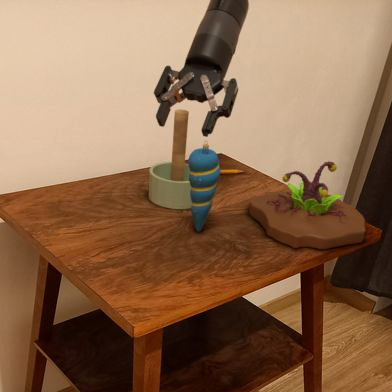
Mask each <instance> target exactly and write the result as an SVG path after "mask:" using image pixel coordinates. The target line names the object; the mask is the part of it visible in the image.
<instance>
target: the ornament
mask: <svg viewBox="0 0 392 392" xmlns="http://www.w3.org/2000/svg"><path fill="white" fill-rule="evenodd" d="M204 142H206V143H204V144H203V143H202V147H201V148H200V147H199V148H196V149H194V150H192V152H191V153H190V154H189V156H188V160H187V164H189V168H190V173H189V182H190V185H191V190H190V197H191V201H192V205H191V208H190V212H191V217H192V220H193V223H194V227H195V231H196V232H198V233H199V232H201V231H202V230H203V228H204V225H205V223H206V221H207V219H208V217H209V213H210V211H211V209H212V206H213V198H214V196H215V195H216V192H217V189H218V181H219V178H220V176H221V174H220V170H221V164H220V160H219V156H218V154H217V152H216V151H215V150H212V149H210V145H209V143H208V141H207V139H206V140H204Z"/></svg>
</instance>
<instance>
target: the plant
mask: <svg viewBox="0 0 392 392" xmlns="http://www.w3.org/2000/svg"><path fill="white" fill-rule="evenodd" d="M325 167H327V169H328V171H329V172H330V173H334V172H335V171H336V170H337V169H338V166H337V164H336V163H335V162H334V161H329V160H328V161H325V162H324V163H323V164H322V165H319V168H318V169H317V171H316V172H315V174H314V177H313V180H312V181H310V180H309V178H308V177H307V175H306V174H305V173H303V172H301V171H299V170H295V171H290V172H287V173H285V174H284V175H282V181H283V183H287V182H288V183H287V187H288V189H289V190H290V192H289V191H283V190H279V191H266V192H265V193H264V194H263V195H253V196H252V198H250V201H249V206H248V214H249V216H251V217H250V218H252V219H254V220H255V221H256V222H258V224H260V225H261V226H262V228H263V229H264V230H265V232H266V235H267V236H268V237H270V238H272V239H274V240H275V241H276V242H279V243H281V244H284V245H287V246H288V247H290V248H291V247H292V248H293V249H298V248H312V249H317V250H321V251H322V250H328V249H333V248H339V247H344V246H348V245H356V244H362V242H363V240H364V238H365V234H366V227H365V224H366V220H365V218H364V215H363V214H362V213H361V212H359V211H358V209H356V207H354V206H353V205H351V204H348V203H346V202H345V201H342V200H341V198H342V197H343V194H341V193H335V194H329V187H328V185H326V184H325V183H324V182H320V179H321V176H322V172H323V170H324V169H325ZM293 175H296V176H298V177H299V178H301V181H302V182H300V183H299V188H298V187H297V186H296V185H294V184H292V183H289V182H290V180H291V177H292V176H293Z"/></svg>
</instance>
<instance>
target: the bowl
mask: <svg viewBox="0 0 392 392" xmlns="http://www.w3.org/2000/svg"><path fill="white" fill-rule="evenodd" d="M171 164H172V161H165V162H159V163H155V164H154V165H151V166H150V168H149V171H148V172H149V173H148V174H149V175H148V199H149V200H150V202H152V203H153V204H155V205H157V206H160V207H162V208H165V209H172V210H188V209H191V205H192V201H191V197H190V190H191V185H190V182H189V173H190V168H189V164H188V163H186V162H185V167H184V180H183V181H172V180H171Z"/></svg>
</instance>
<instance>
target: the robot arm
mask: <svg viewBox="0 0 392 392" xmlns="http://www.w3.org/2000/svg"><path fill="white" fill-rule="evenodd" d="M249 7H250V3H249V0H209V3H208V5H207V8H206V10H205V12H204V15H203V17H202V19H201V21H200V23H199V24H198V27H197V29H196V31H195V32H196V33H194V34H195V35H194V37H193V40H192V42H191V45H190V47H189V49H188V52H187V55H186V57H185V60H184V65H183V67H182V68H181V69H180V70H174V69H172V67H171V65H165V67H164V69H163V71H162V73H161V74H160V77H159V80H158V82H157V84H156V86H155V88H154V90H153V95H154V97H155V99H156V102H157V103H158V104H159V106H158V109H157V111H156V114H155V119H156V121H157V124H158V126H159V127H162V128H163V127H165V126H166V123H167V121H168V118H169V115H170V112H171V110H172V109H171V108H172V107H174V106H175V105H177V103H179V104H181V103H182V102H183V101H185V100H187V101H192V102H193V101H196V102H198V103H199V104H200V103H201V104H204V103H205V102H207V103H208V106H209V108H210V110H208V111H207V114H206V116H205V119H204V121H203V123H202V127H201V135H202V136H203V137H206V138H208V137H209V135H212V133H213V132H214V129H215V127H216V124H217V121H218V119H219V118H221V117H222V118H223V117H224V118H225V119H228V118H230V117H231V115H232V112H233V109H234V106H235V103H236V99H237V96H238V92H239V86H238V82H237V79H236V78H234V77H233V78H230V79H229V80H226V79H225V78H226V75H227V72H228V70H229V67H230V64H231V62H232V59H233V57H234V55H235V53H236V50H237V46H238V42H239V40H240V35H241V32H242V29H243V27H244V24H245V21H246V19H247V15H248V12H249ZM224 79H225V80H224ZM176 81H177V82H176ZM171 85H172V86H171ZM222 90H224V94H225V95H224V97H223V101H222V103H221V104H220V105H218V103H217V101H216V98H215V96H216V95H217V94H218V93H220V92H221V91H222ZM180 91H181V92H180Z"/></svg>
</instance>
